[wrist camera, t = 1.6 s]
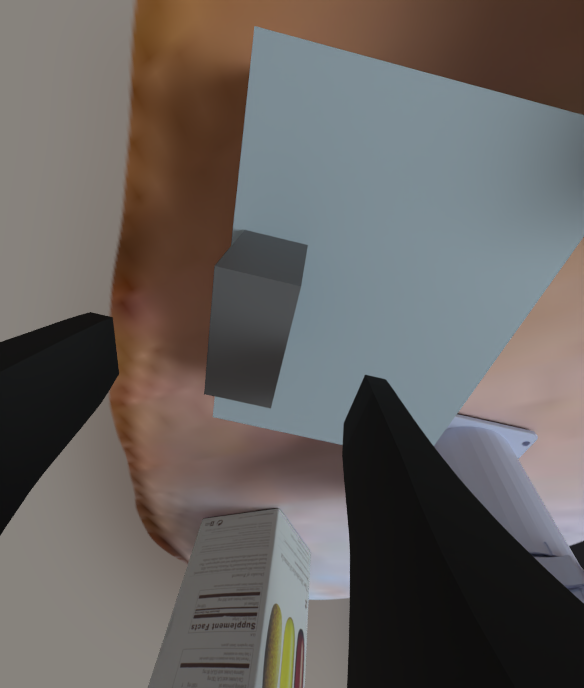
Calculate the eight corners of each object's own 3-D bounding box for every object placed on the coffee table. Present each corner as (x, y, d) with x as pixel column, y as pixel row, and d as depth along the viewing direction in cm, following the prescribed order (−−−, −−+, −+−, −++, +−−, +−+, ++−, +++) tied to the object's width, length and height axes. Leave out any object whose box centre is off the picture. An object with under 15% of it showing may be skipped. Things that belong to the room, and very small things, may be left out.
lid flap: (418, 450, 20) (442, 533, 16) (216, 406, 19) (187, 480, 15) (635, 134, 10) (826, 136, 6) (259, 32, 10) (213, -32, 6)
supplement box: (312, 552, 36) (304, 816, 22) (240, 559, 39) (192, 800, 25) (278, 505, 32) (241, 800, 18) (199, 517, 34) (112, 783, 20)
